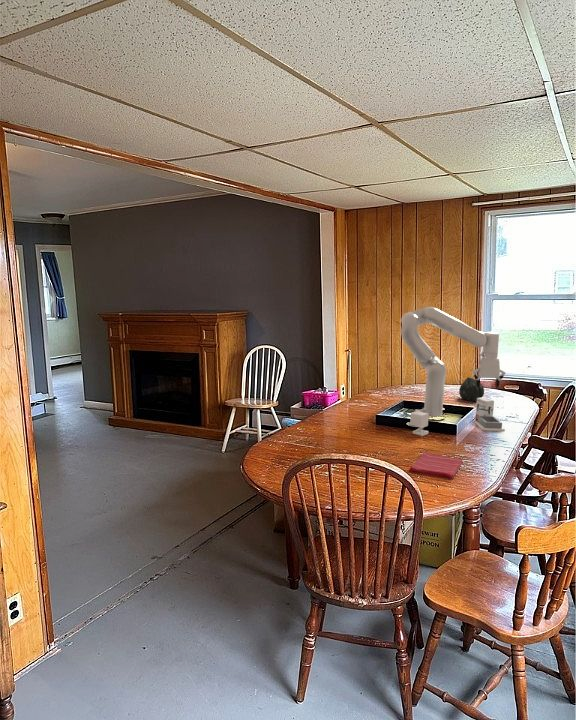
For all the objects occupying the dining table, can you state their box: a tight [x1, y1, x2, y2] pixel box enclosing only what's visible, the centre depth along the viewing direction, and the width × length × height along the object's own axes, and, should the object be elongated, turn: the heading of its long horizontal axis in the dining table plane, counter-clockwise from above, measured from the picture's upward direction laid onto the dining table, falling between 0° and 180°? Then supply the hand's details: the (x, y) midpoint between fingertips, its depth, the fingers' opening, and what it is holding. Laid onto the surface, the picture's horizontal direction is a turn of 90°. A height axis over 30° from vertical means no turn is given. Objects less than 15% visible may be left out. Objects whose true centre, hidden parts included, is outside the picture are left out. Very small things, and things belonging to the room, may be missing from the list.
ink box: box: [474, 396, 495, 420], centre depth 286 cm, size 8×5×12 cm, turn 17°
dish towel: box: [408, 451, 463, 481], centre depth 215 cm, size 17×24×3 cm
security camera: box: [409, 411, 429, 437], centre depth 260 cm, size 6×7×10 cm
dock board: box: [474, 415, 506, 432], centre depth 275 cm, size 11×13×4 cm
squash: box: [458, 376, 485, 402], centre depth 334 cm, size 14×15×15 cm
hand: (487, 387), depth 284 cm, fingers open, 9 cm apart
